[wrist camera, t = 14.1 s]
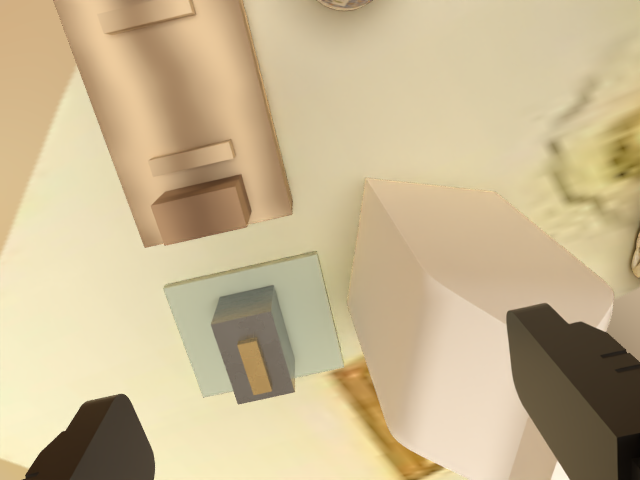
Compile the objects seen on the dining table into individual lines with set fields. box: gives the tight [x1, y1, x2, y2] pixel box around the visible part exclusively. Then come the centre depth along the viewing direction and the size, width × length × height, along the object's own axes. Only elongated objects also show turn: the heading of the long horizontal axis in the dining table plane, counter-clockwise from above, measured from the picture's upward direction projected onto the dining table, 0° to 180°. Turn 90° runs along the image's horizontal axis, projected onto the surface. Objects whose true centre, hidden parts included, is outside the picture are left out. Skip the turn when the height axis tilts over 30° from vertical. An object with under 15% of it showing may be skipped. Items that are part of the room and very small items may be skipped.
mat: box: [163, 251, 344, 398], centre depth 46 cm, size 14×12×1 cm
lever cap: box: [211, 285, 295, 404], centre depth 43 cm, size 5×8×6 cm, turn 13°
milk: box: [347, 178, 614, 480], centre depth 32 cm, size 12×12×26 cm
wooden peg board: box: [53, 0, 293, 248], centre depth 35 cm, size 12×22×8 cm, turn 13°
